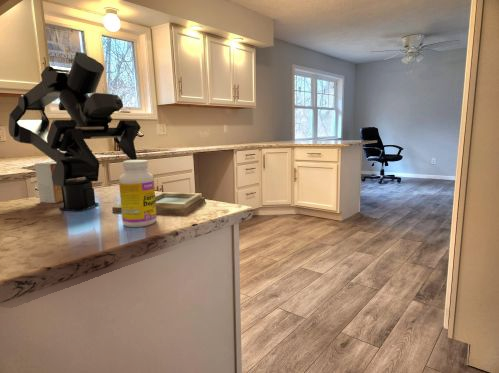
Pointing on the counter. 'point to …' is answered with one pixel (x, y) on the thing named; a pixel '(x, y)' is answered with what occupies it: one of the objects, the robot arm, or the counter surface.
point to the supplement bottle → (137, 194)
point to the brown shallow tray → (173, 203)
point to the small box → (47, 183)
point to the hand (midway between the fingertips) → (116, 161)
